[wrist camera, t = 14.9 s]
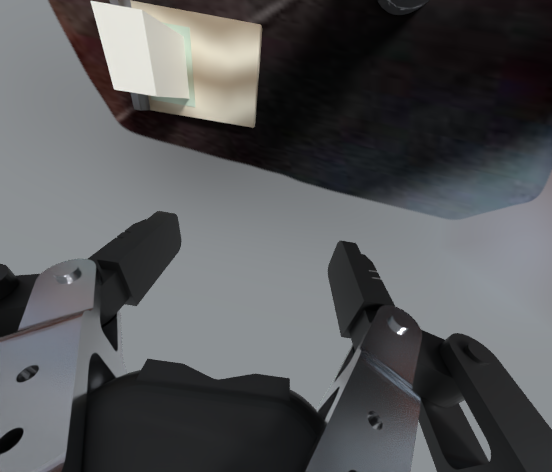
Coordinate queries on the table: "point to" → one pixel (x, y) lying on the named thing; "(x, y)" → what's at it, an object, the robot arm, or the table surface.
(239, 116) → the cream grey flat block
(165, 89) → the carton
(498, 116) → the table surface
